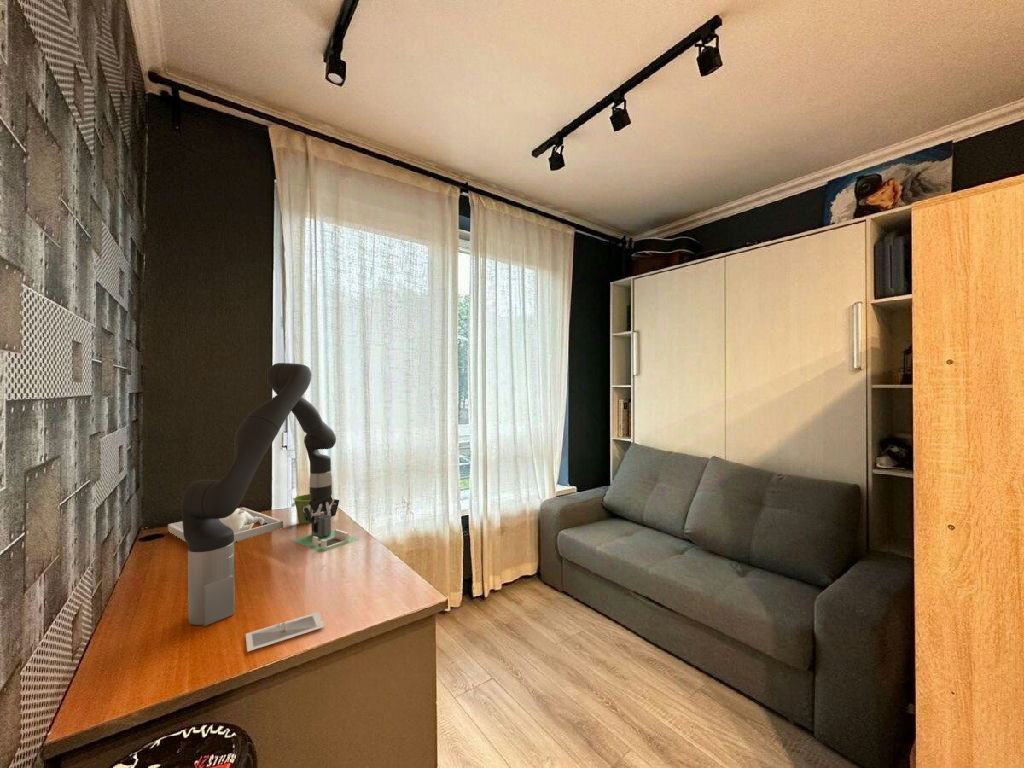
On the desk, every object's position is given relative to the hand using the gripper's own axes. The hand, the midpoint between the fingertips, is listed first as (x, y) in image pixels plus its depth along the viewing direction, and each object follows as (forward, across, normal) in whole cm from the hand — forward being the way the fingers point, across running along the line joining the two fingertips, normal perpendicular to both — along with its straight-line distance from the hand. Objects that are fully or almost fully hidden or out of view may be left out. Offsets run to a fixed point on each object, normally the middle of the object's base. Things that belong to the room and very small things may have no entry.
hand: (321, 530), depth 152 cm
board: (+3, -2, -6) cm, 7 cm away
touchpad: (+4, -37, -49) cm, 62 cm away
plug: (+1, 0, 0) cm, 1 cm away
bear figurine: (+4, -16, +35) cm, 39 cm away
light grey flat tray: (+3, -15, +42) cm, 45 cm away
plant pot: (+3, +7, +20) cm, 21 cm away
